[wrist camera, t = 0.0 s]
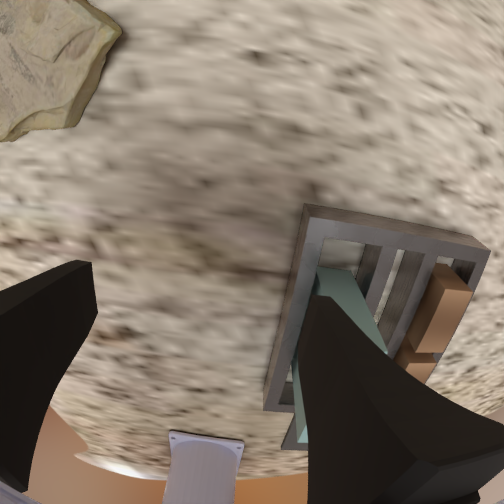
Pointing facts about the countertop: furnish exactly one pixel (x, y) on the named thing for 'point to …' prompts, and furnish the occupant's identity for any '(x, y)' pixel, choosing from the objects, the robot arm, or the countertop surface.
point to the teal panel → (353, 303)
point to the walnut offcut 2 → (438, 311)
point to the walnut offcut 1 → (414, 361)
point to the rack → (366, 280)
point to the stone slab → (49, 62)
